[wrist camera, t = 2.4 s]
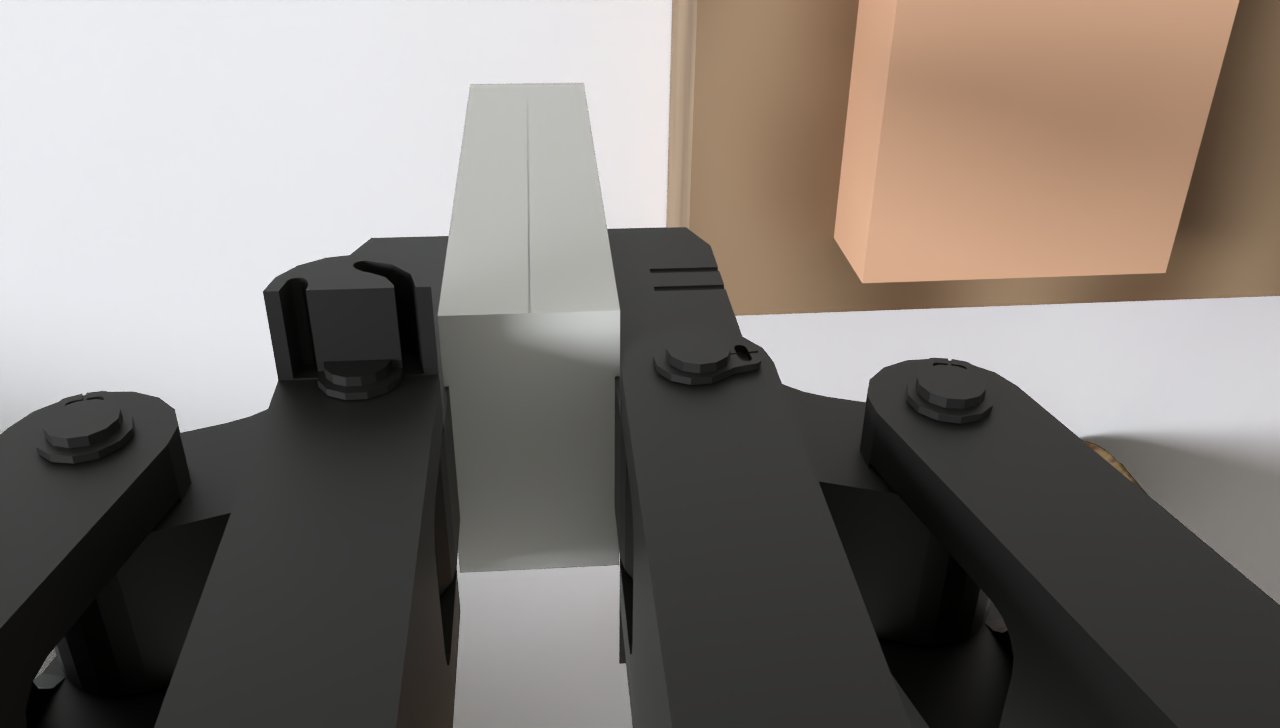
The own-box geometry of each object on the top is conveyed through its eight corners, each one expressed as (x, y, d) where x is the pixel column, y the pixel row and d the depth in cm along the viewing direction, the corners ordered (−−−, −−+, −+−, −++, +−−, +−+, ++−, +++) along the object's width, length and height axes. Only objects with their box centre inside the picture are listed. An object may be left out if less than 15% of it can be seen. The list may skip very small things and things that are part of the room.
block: (833, 237, 27) (862, 283, 25) (884, -237, 22) (925, -233, 20) (1113, 229, 27) (1165, 273, 25) (1225, -234, 22) (1301, -229, 20)
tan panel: (665, 250, 31) (685, 317, 27) (681, -353, 24) (710, -364, 20) (1408, 227, 33) (1514, 287, 30) (1623, -334, 26) (1793, -341, 23)
